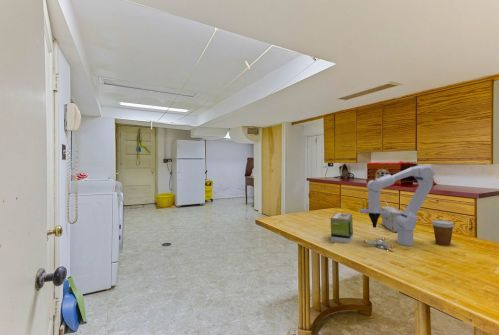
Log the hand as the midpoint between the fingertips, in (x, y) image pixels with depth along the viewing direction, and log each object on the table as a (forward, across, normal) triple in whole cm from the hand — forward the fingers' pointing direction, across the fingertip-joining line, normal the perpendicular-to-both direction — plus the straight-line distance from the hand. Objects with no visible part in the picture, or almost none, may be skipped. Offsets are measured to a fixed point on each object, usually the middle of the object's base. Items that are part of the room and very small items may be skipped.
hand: (374, 227), depth 134 cm
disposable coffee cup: (+10, +31, +20) cm, 38 cm away
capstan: (+9, +4, -6) cm, 11 cm away
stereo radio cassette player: (+10, +6, +41) cm, 43 cm away
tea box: (+10, -17, 0) cm, 20 cm away
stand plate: (+10, +3, -5) cm, 11 cm away
